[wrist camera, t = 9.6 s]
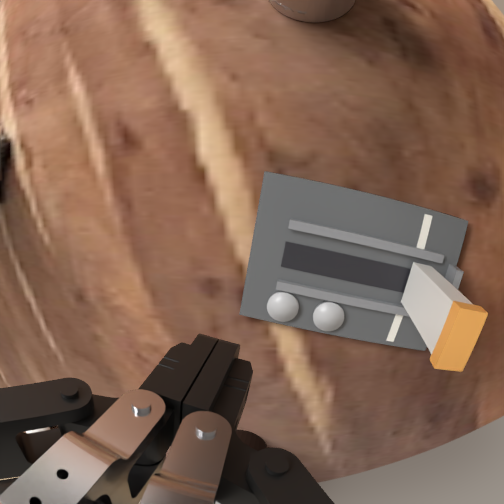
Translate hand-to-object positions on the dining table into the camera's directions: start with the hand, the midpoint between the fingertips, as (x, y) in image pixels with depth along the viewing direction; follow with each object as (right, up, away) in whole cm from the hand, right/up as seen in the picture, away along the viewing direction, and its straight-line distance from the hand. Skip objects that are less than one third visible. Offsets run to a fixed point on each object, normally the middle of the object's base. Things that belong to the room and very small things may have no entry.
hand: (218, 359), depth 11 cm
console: (+11, +3, +18) cm, 22 cm away
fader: (+17, +1, +16) cm, 23 cm away
